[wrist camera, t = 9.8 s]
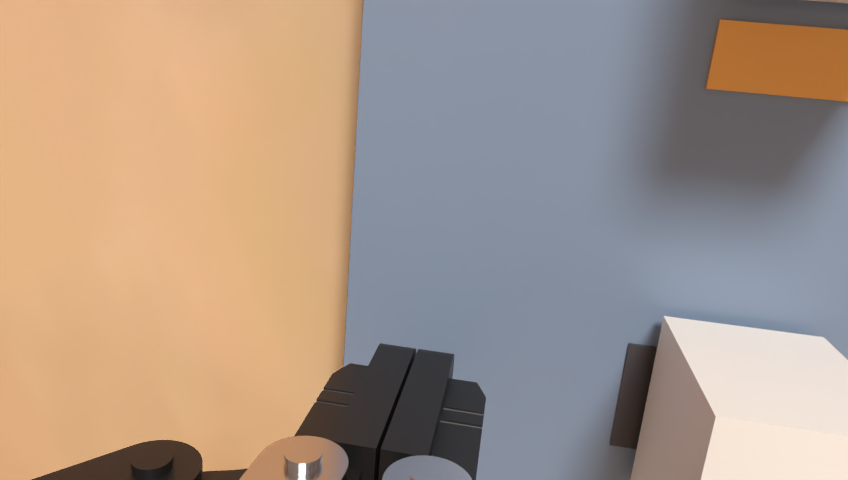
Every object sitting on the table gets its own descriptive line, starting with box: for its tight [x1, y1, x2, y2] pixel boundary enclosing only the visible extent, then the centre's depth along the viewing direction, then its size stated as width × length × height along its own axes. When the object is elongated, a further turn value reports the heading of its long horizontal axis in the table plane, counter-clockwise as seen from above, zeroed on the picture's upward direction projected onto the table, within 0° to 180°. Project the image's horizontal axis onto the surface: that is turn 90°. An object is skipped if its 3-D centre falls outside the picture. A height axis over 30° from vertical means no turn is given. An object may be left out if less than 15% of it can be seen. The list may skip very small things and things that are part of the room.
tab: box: [630, 316, 848, 480], centre depth 12 cm, size 3×4×4 cm
